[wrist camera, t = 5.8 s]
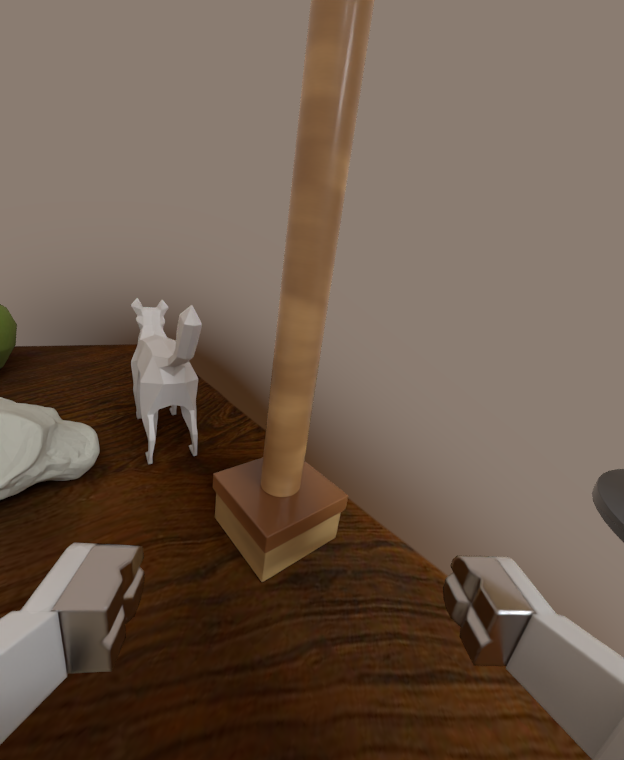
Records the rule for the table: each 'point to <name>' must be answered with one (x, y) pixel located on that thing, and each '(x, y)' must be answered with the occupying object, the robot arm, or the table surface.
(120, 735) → the table surface
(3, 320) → the apple
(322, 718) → the table surface
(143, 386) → the cat figurine
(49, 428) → the decorative stone
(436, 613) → the table surface
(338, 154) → the wooden post stand
